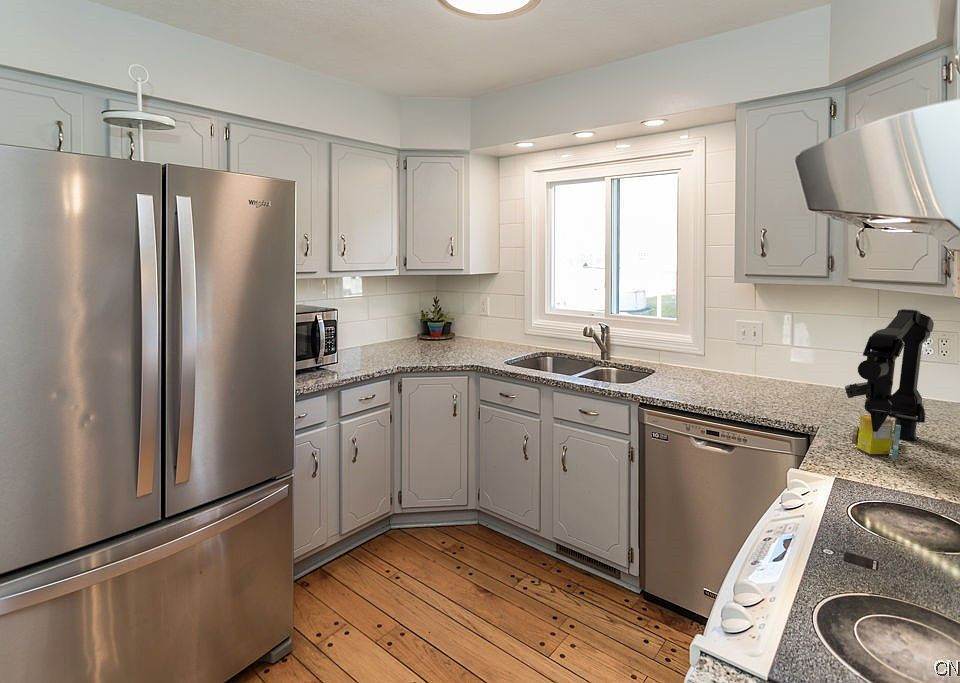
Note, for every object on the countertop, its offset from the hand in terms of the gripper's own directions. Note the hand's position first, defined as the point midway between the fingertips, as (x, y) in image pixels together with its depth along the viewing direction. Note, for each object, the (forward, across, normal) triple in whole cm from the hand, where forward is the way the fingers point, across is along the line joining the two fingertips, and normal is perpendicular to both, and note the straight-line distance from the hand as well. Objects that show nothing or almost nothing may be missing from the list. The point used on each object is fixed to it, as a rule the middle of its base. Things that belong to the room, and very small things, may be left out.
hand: (875, 428), depth 167 cm
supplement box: (+8, 0, 0) cm, 8 cm away
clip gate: (+7, -1, +5) cm, 9 cm away
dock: (+8, -12, 0) cm, 14 cm away
